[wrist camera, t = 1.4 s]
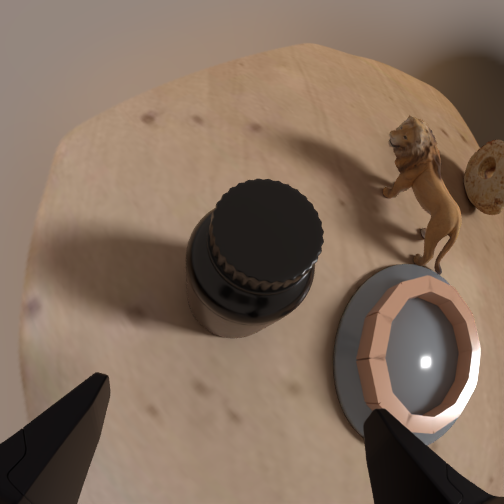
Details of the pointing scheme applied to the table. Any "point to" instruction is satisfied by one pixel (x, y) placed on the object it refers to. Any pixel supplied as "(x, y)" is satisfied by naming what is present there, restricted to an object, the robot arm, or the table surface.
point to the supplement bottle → (252, 258)
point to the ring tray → (406, 351)
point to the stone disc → (486, 178)
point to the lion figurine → (424, 185)
